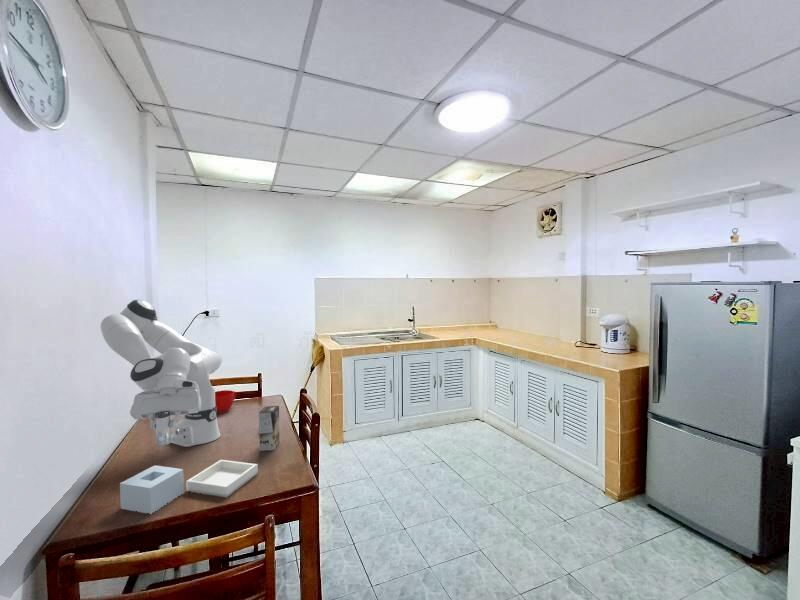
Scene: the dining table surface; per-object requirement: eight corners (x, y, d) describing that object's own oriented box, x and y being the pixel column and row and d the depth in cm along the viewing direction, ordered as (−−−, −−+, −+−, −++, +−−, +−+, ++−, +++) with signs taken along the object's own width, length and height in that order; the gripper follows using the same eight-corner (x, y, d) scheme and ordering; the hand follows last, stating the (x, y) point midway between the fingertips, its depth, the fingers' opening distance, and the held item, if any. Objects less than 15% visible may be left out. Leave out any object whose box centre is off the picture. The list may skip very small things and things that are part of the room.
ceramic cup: (245, 407, 214) (244, 389, 213) (220, 416, 198) (219, 397, 198) (228, 404, 219) (228, 387, 219) (203, 413, 204) (202, 395, 203)
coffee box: (275, 450, 155) (274, 412, 155) (259, 451, 155) (258, 413, 154) (280, 441, 165) (279, 405, 164) (265, 442, 164) (264, 406, 163)
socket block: (120, 508, 115) (119, 483, 115) (155, 488, 127) (154, 465, 127) (151, 514, 112) (150, 488, 112) (184, 492, 124) (183, 469, 123)
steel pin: (153, 444, 119) (152, 414, 119) (164, 439, 123) (163, 410, 123) (163, 446, 118) (161, 415, 118) (174, 441, 122) (172, 411, 122)
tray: (186, 491, 125) (186, 481, 124) (221, 468, 140) (220, 459, 140) (226, 497, 120) (226, 487, 120) (257, 473, 136) (257, 464, 136)
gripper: (133, 387, 124) (121, 427, 115) (201, 382, 130) (195, 419, 120) (139, 397, 128) (128, 435, 119) (204, 391, 134) (199, 427, 125)
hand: (162, 427), depth 120 cm, fingers closed on steel pin, 4 cm apart
